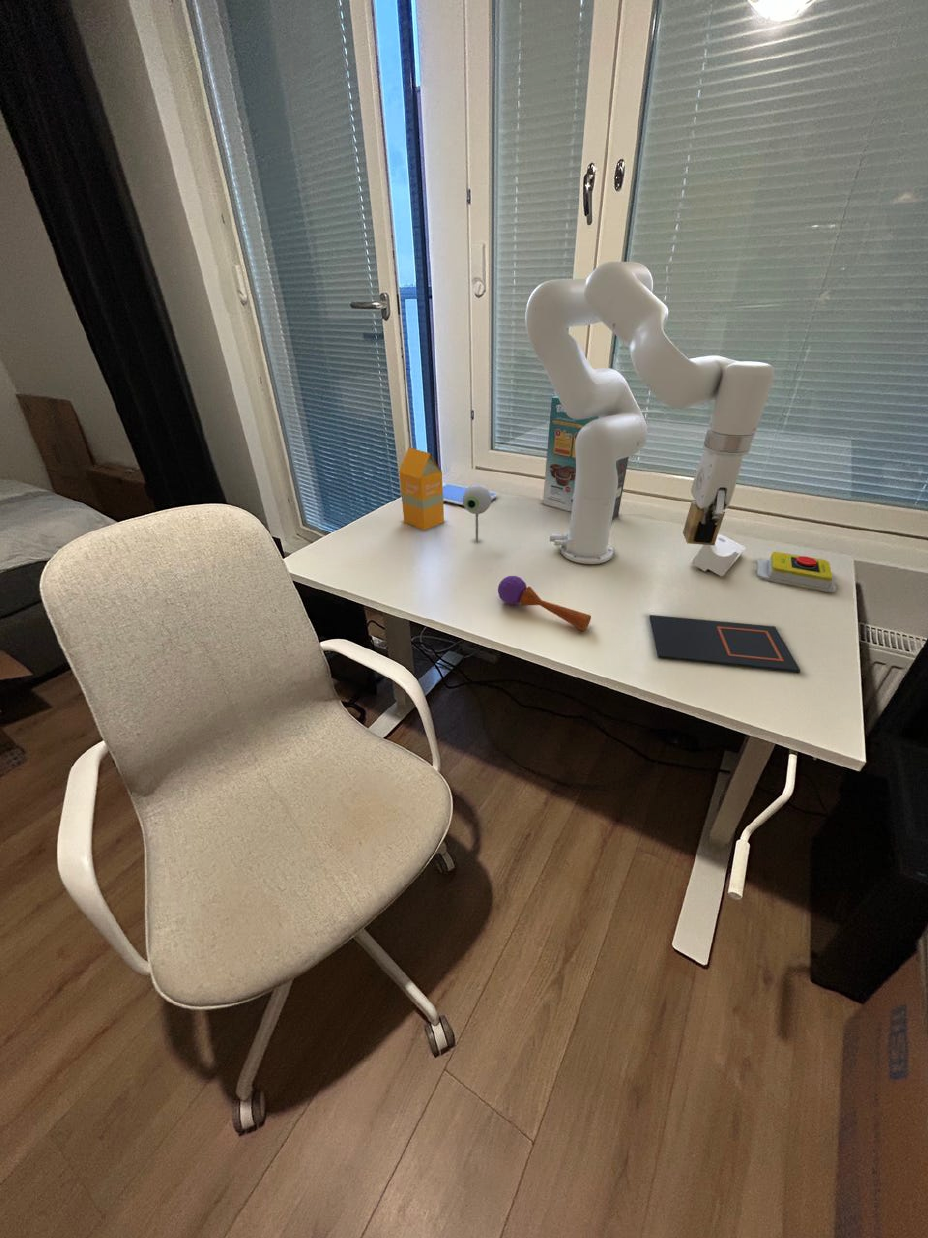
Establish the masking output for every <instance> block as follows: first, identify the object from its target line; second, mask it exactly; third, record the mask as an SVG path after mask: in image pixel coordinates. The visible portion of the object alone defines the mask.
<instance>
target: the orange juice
mask: <svg viewBox="0 0 928 1238" xmlns="http://www.w3.org/2000/svg"><path fill="white" fill-rule="evenodd" d="M398 472H399V483H400V492H401V494H400V495H401V503H402V513H403V514H402V515H403V522H404V523H406V524H408V525H411V526H413V527H416V528H418V529H420V530H423V531H426V530H429V529H431V528H433V527H436V526H438V525H441V524H443V523H445V513H444V512H445V511H444V501H443V486H444V485H443V471H442V469H441V468H440V467H439V465H438V464H437V463H436V460H435V459H434V457H433V456H432V455H431V453H430V452H427V451H424V450H420V449H416V448H413V447H409V446H408V447H407V450H406V453H405V456H404V458H403V461H402V464H401V466H400V468H399V471H398Z"/></svg>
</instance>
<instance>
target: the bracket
mask: <svg viewBox="0 0 928 1238" xmlns="http://www.w3.org/2000/svg"><path fill="white" fill-rule="evenodd" d="M746 548H747V547H746V546H744V545H742V544H739V543H738V542H736V541H735V540H733V539H731V538H729V537H727V536H725V535H723V534H721V533H720V532H719V533H718V536H717V539H716V542H715V545H702V546H701V548H700V550H699V551H698V553H697V554H696V556H695V558H694V559H693V561H692V562H691V565H693V566H695V567H696V568H698V569H700V570H701V571H704V572H706V571H708V570H709V571H711V572H712V573H714V574H716V575H718V576H720V577H723V576H724V575H725V574H727V572H728V570H730V568H731V567H732V566H733V565H734V564H735V563H736V562H737V560H738V559H739V558H740V557H741V555H742V554H743V553H744V551H745V550H746Z"/></svg>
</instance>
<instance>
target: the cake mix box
mask: <svg viewBox="0 0 928 1238" xmlns="http://www.w3.org/2000/svg"><path fill="white" fill-rule="evenodd" d="M637 404H638V405H639V403H638V402H637ZM596 419H599V417H598V416H595V417H591V418H587V419H581V420H575V419H572V418H570V417H569V416H568V415H567V414H566V412H565V410H564V409H563V407H562V405H561V403H560V400H559V398H558V396H557V395H555V396H554V395H553V396H551V402H550V413H549V426H548V435H547V436H548V437H547V440H548V441H547V451H546V462H545V472H544V473H545V474H544V484H543V497H542V504H543V505H545V506H550V507H553V508H557V509H560V510H564V511H567V512H570V513H572V505H573V497H574V488H575V478H576V454H575V442H576V438H577V435H578V433H579V431H580V430H581V429H582V428H583V427H584V426H585V425H586V424H587V423H589V422H591V421H593V420H596ZM629 458H630V456H628V457H625V458H622V459H620V460H617V461H616V469H617V474H618V487H617V493H616V499H615V505H614V511H613V517H612V520H614V519H615V518H617V517H619V512H620V507H621V502H622V497H623V491H624V485H625V480H626V475H627V469H628V464H629V460H630V459H629Z"/></svg>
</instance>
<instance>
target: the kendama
mask: <svg viewBox="0 0 928 1238" xmlns="http://www.w3.org/2000/svg"><path fill="white" fill-rule="evenodd" d="M497 592H498V597H499V598H500V599H501V601H502V602H504V603H505V604H508V605H518V604H520V606H524V607H525V606H540V607H541V608H543V609H545V610H547V611H548V612H550V613H551V614H552V615H555V616H557V617H559V618H560V619H562V620H563V621H565V622H567V623H568V624H570V625H572V626H573V627H575V628H577V629H579V630H581V631H582V632H585V631H586V630H587V629H588V627H589V625H590V623H591V619H592V615H590V614H587V613H584V612H580V611H578V610H575V609H572V608H568V607H564V606H561V605H558V604H556V603H553V602H548V601H546V600H542V599H541V597H540V595H538V594H537V593H536V592H535V591H534V590H533V588H532V587H531V586H527V583H526V582H525V580H523V579H522V578H521V577H519V576H517V575H508V576H506V577H504V578H503V579H501V581H500V582H499V584H498V586H497Z"/></svg>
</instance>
